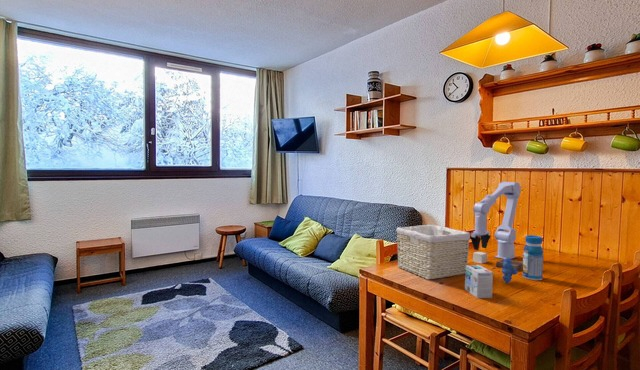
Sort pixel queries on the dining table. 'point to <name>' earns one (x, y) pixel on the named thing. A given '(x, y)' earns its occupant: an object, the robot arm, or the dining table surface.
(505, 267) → the grapes
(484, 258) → the off-white block
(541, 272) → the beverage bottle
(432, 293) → the dining table surface
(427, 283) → the dining table surface
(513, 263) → the walnut block
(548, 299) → the dining table surface
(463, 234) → the basket
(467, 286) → the light bulb box
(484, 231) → the robot arm
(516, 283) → the dining table surface
